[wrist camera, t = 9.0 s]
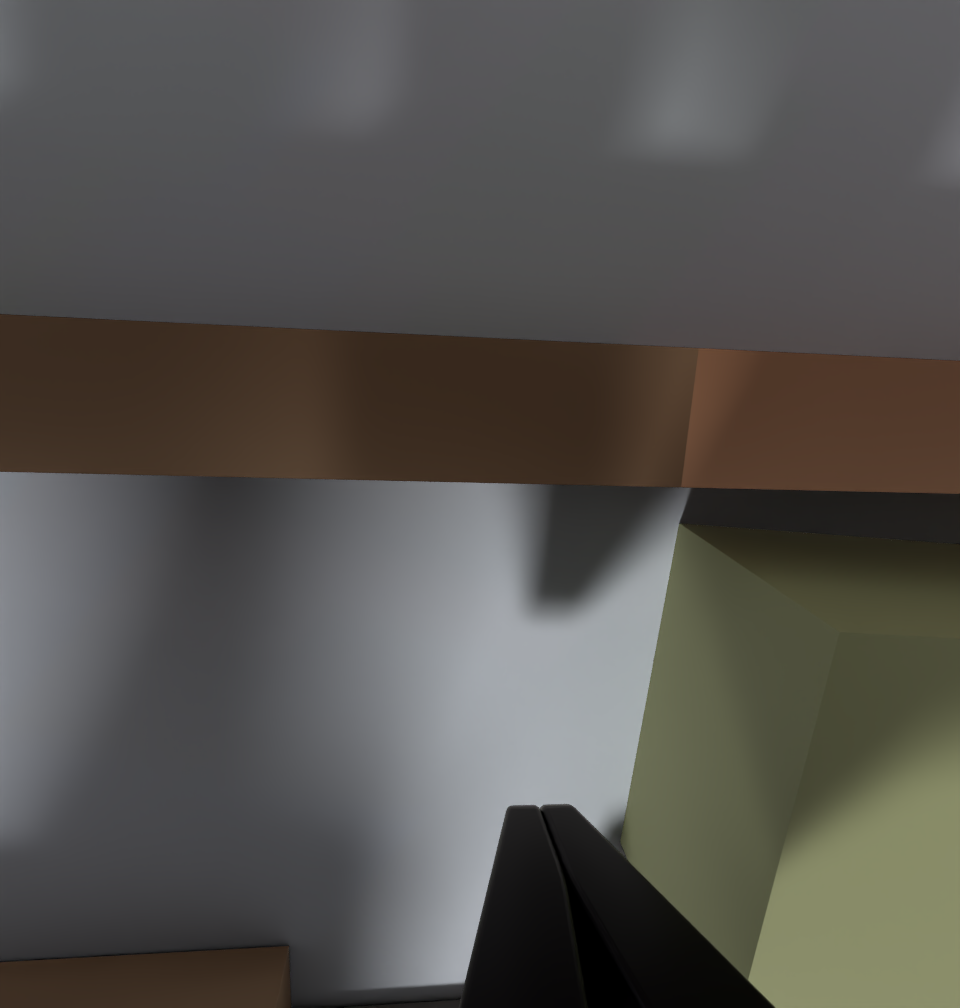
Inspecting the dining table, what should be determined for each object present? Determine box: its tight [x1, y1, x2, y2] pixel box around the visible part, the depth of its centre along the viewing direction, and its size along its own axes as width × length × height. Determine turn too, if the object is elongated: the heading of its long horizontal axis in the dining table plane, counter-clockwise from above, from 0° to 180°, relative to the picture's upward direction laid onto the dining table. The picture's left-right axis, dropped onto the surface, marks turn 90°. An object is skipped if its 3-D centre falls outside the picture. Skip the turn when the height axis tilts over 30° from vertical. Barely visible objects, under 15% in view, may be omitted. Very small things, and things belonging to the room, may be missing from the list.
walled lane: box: [0, 314, 960, 1008], centre depth 9 cm, size 12×24×2 cm, turn 87°
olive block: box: [620, 523, 960, 1008], centre depth 9 cm, size 6×6×4 cm
